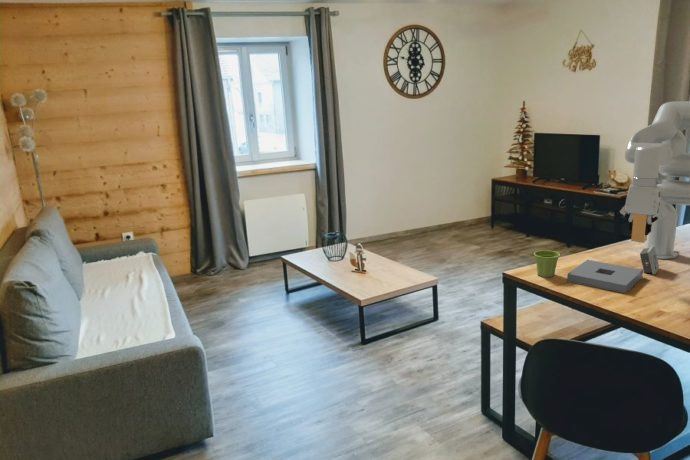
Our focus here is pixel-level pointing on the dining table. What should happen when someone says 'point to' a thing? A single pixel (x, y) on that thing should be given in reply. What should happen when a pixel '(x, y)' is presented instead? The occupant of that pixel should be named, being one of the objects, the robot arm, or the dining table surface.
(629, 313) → the dining table surface
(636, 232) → the plug
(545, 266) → the plant pot
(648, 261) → the electrical switch
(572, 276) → the socket plate
